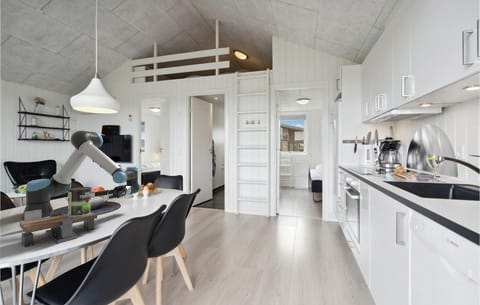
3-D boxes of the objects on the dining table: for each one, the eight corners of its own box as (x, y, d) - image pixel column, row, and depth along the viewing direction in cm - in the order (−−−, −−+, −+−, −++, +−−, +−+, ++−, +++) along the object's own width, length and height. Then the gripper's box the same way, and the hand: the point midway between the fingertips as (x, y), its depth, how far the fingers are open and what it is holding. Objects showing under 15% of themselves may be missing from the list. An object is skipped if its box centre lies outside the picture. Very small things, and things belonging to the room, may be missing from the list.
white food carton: (41, 228, 122) (41, 210, 122) (24, 231, 117) (24, 212, 117) (40, 226, 125) (40, 209, 125) (24, 229, 120) (24, 211, 119)
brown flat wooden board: (19, 226, 105) (19, 221, 105) (86, 213, 127) (86, 209, 127) (26, 233, 96) (27, 228, 96) (97, 218, 119) (97, 214, 119)
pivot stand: (18, 239, 106) (18, 219, 106) (84, 224, 129) (85, 207, 129) (28, 251, 95) (28, 228, 94) (99, 232, 117) (99, 213, 117)
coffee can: (95, 212, 122) (96, 187, 122) (78, 217, 112) (78, 190, 112) (80, 211, 124) (80, 186, 124) (62, 216, 114) (62, 189, 114)
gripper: (137, 197, 144) (111, 205, 123) (106, 195, 150) (76, 202, 130) (137, 186, 144) (111, 192, 123) (106, 184, 150) (76, 190, 129)
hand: (93, 197), depth 126 cm, fingers open, 13 cm apart
